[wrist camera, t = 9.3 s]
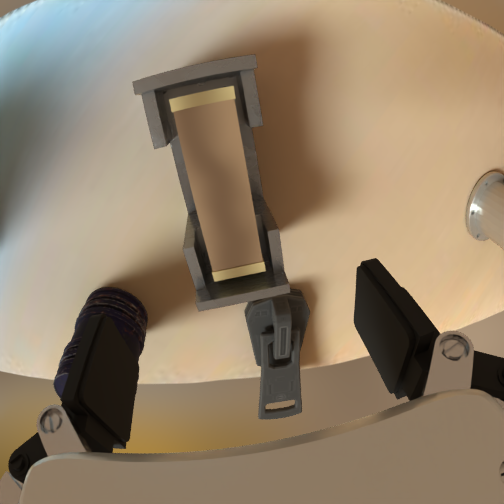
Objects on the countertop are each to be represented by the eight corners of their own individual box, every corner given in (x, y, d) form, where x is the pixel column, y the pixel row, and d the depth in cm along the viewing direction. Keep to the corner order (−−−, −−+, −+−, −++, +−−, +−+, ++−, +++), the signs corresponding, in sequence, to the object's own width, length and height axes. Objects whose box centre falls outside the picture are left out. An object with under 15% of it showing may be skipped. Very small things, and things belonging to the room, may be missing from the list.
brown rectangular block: (229, 87, 23) (233, 85, 19) (258, 246, 31) (265, 271, 27) (176, 99, 23) (169, 99, 19) (213, 255, 31) (214, 281, 27)
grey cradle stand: (240, 68, 26) (255, 54, 17) (268, 237, 37) (290, 292, 27) (158, 86, 26) (132, 81, 17) (200, 252, 36) (198, 311, 27)
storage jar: (80, 322, 39) (51, 401, 27) (92, 275, 36) (53, 359, 23) (138, 346, 43) (124, 428, 30) (158, 303, 39) (144, 394, 26)
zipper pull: (255, 422, 47) (249, 325, 34) (251, 393, 53) (243, 291, 40) (305, 414, 48) (322, 315, 35) (297, 386, 53) (307, 283, 41)
